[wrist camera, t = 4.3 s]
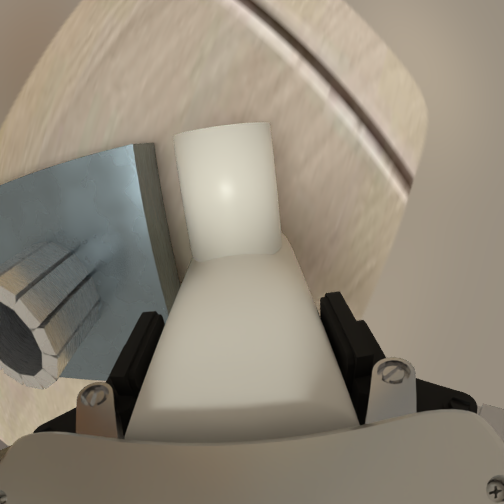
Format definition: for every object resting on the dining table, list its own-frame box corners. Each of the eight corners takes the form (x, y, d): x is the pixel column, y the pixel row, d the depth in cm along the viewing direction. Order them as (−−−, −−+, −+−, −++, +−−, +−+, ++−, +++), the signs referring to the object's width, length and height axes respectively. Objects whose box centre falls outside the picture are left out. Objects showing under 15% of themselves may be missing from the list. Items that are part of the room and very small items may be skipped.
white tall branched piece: (291, 283, 22) (349, 494, 7) (208, 292, 22) (167, 505, 7) (277, 128, 18) (392, 86, 3) (183, 140, 19) (2, 155, 4)
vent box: (195, 348, 24) (176, 448, 15) (46, 348, 24) (-2, 415, 15) (153, 142, 18) (76, 149, 9) (-7, 190, 19) (-90, 224, 9)
